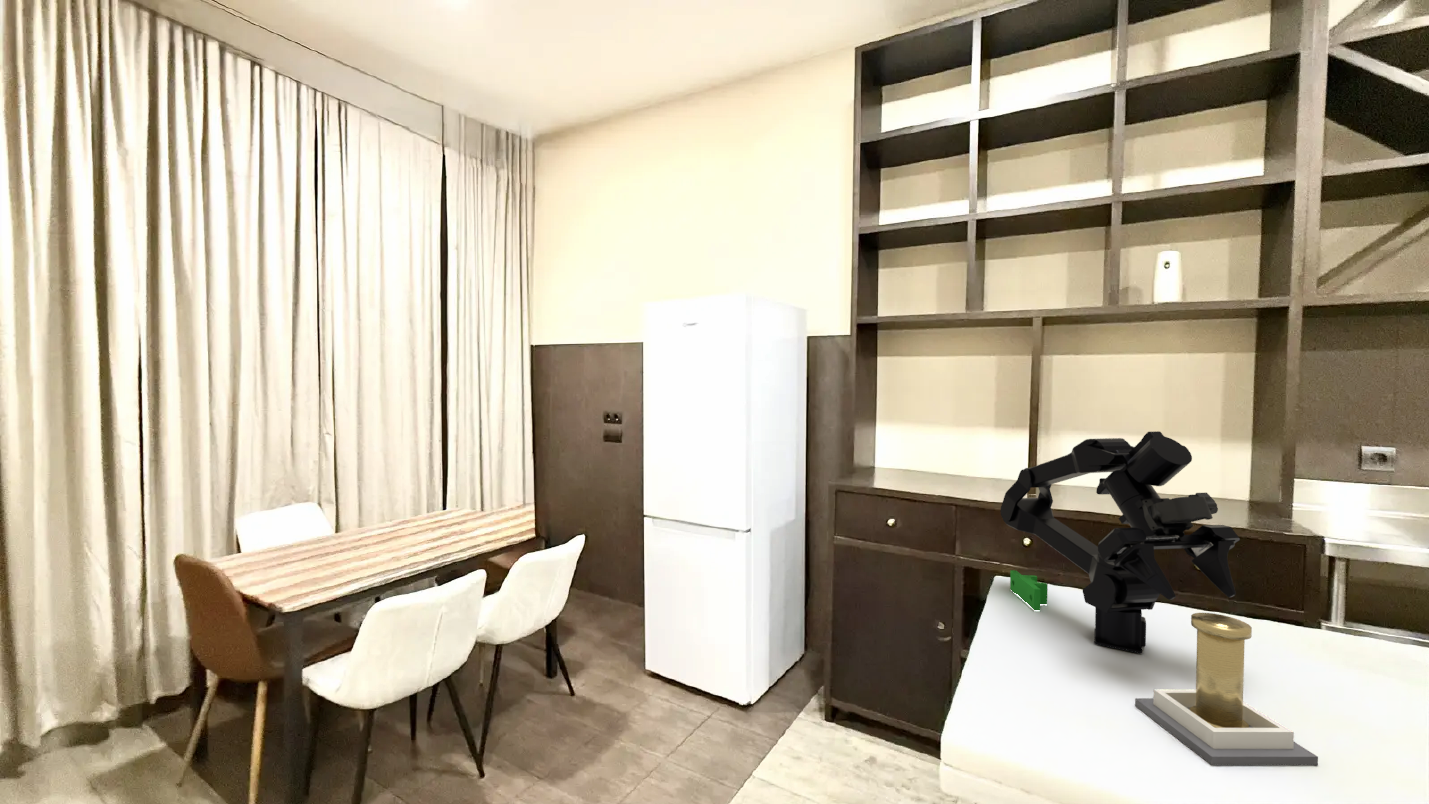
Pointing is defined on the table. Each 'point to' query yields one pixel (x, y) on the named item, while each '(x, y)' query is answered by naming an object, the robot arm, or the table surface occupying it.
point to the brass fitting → (1220, 669)
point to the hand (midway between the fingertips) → (1202, 597)
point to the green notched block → (1029, 589)
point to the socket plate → (1225, 733)
